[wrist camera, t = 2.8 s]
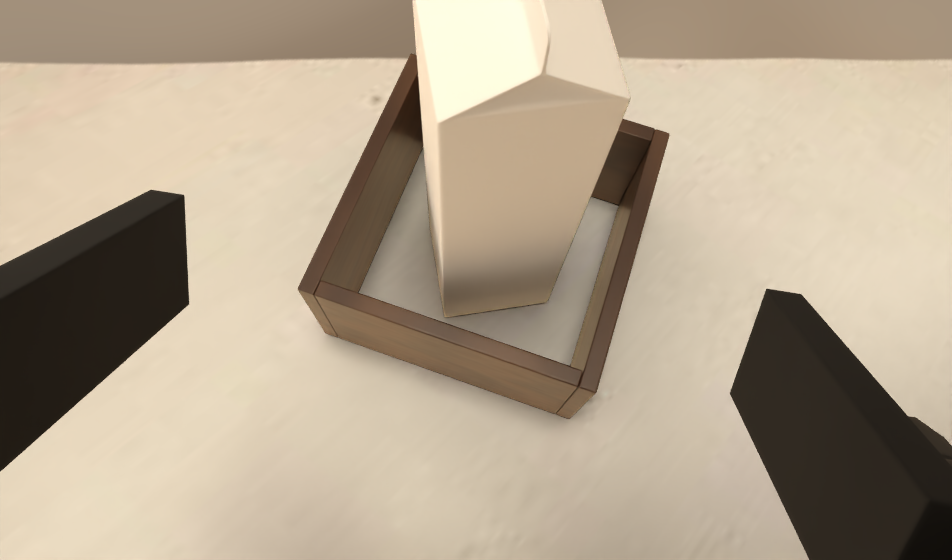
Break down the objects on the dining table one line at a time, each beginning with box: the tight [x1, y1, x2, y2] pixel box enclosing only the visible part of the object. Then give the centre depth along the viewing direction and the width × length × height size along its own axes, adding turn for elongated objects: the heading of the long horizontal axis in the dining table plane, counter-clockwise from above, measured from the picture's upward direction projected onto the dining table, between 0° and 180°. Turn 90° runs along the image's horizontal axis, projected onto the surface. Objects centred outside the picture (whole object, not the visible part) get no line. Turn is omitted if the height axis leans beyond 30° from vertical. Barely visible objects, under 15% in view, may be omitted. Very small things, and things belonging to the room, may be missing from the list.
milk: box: [413, 0, 631, 317], centre depth 28 cm, size 6×6×22 cm
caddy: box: [298, 54, 669, 419], centre depth 35 cm, size 14×14×7 cm
